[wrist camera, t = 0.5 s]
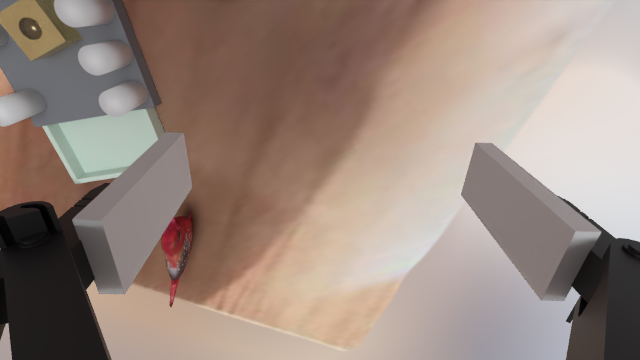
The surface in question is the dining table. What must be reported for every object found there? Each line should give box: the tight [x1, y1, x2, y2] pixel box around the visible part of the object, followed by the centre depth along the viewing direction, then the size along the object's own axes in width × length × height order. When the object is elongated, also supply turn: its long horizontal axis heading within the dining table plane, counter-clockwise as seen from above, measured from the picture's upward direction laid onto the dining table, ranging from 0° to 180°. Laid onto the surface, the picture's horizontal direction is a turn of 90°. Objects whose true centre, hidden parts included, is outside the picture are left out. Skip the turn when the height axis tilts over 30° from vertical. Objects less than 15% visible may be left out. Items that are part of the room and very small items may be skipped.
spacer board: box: [0, 0, 161, 127], centre depth 35 cm, size 17×15×7 cm
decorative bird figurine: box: [161, 211, 193, 307], centre depth 47 cm, size 3×18×10 cm, turn 165°
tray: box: [42, 107, 165, 184], centre depth 43 cm, size 8×13×2 cm, turn 99°
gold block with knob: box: [0, 0, 83, 61], centre depth 34 cm, size 5×5×3 cm
